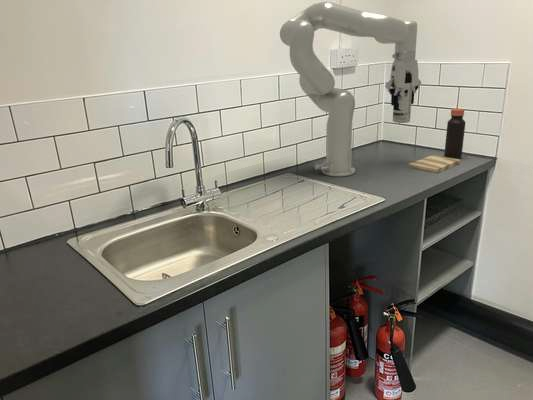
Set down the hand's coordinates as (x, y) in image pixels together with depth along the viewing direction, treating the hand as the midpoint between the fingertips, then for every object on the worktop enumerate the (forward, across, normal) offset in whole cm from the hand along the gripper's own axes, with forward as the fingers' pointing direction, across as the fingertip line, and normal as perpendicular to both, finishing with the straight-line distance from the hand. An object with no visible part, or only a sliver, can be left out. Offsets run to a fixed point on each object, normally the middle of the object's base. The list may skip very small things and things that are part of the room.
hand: (402, 104), depth 171 cm
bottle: (+24, +24, -4) cm, 34 cm away
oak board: (+24, +10, -9) cm, 28 cm away
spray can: (+7, 0, 0) cm, 7 cm away
